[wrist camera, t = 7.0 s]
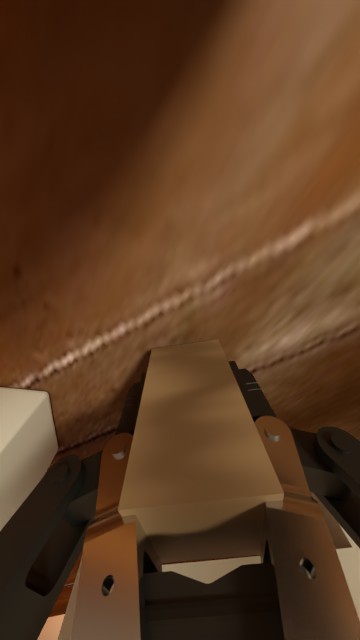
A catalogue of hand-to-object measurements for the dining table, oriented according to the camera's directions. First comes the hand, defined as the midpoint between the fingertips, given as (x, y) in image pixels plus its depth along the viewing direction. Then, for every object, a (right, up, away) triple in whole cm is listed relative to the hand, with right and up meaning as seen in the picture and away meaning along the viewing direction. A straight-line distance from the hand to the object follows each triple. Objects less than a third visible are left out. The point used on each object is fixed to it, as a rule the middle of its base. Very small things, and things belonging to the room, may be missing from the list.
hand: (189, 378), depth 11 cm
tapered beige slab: (+1, -9, +5) cm, 10 cm away
